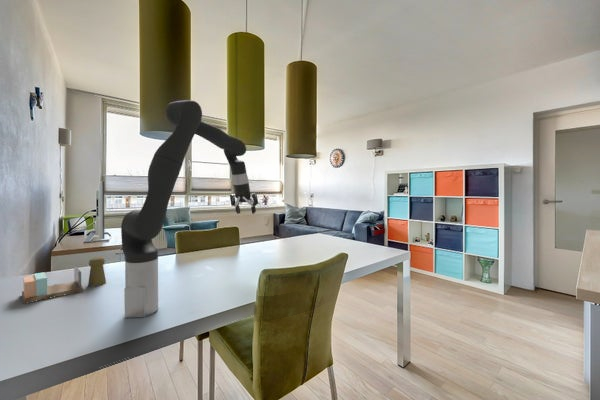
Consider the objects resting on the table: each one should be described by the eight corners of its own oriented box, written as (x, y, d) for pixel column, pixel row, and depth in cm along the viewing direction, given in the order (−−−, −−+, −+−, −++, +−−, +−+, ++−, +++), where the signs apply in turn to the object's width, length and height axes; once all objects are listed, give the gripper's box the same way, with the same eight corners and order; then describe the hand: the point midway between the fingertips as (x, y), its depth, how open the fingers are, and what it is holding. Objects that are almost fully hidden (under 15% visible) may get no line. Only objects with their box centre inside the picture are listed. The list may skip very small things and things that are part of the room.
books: (25, 298, 91) (24, 281, 91) (23, 291, 97) (23, 275, 97) (47, 293, 95) (47, 277, 95) (44, 287, 101) (44, 272, 101)
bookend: (78, 287, 102) (78, 272, 102) (74, 281, 108) (74, 267, 108) (81, 286, 103) (81, 271, 102) (77, 281, 109) (76, 266, 108)
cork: (108, 283, 111) (108, 257, 111) (91, 287, 106) (91, 260, 105) (102, 280, 114) (101, 255, 114) (85, 284, 109) (84, 258, 109)
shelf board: (23, 304, 90) (23, 299, 90) (22, 295, 98) (22, 291, 98) (83, 291, 102) (83, 287, 102) (77, 284, 110) (77, 280, 110)
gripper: (224, 184, 128) (230, 215, 133) (250, 183, 124) (255, 215, 129) (232, 181, 135) (237, 210, 140) (257, 180, 131) (262, 210, 136)
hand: (246, 213), depth 134 cm, fingers open, 8 cm apart
